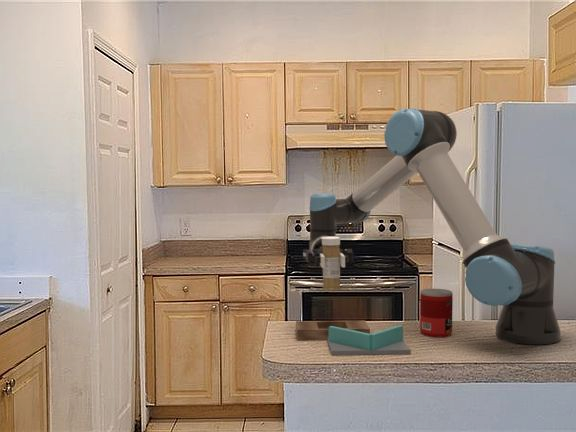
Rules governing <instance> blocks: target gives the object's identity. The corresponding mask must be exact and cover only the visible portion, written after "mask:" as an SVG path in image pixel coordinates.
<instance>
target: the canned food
mask: <svg viewBox="0 0 576 432" xmlns="http://www.w3.org/2000/svg"><path fill="white" fill-rule="evenodd" d="M453 295H454V294H453V291H451V290H449V289H446V288H445V289H443V288H424V289H421V290H420V300H419V301H420V305H419V306H420V309H419V312H420V314H419V315H420V316H419V317H420V318H419V319H420V320H419V321H420V325H419V326H420V327H419V330H420V333H421V334H422V335H423V336H426V337H429V338H430V337H431V338H447V337H450V336H451V335H452V333H453V308H454V307H453V305H454V304H453V300H454V297H453Z"/></svg>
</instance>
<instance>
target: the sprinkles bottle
mask: <svg viewBox="0 0 576 432" xmlns="http://www.w3.org/2000/svg"><path fill="white" fill-rule="evenodd" d="M322 246H323V255H324V256H325V268H322V281H323V282H322V290H324V291H326V292H337V291H340V290H342V289H341V265H340V251H339V247H340V246H341V237H339V236H336V237H323V238H322ZM340 248H341V247H340Z"/></svg>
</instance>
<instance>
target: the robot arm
mask: <svg viewBox="0 0 576 432" xmlns="http://www.w3.org/2000/svg"><path fill="white" fill-rule="evenodd" d="M457 135H458V134H457V128H456V124H455V122H454V120H453V119H452V118H451V117H450V116H449V115H447V114H446V113H445V112H442V111H437V110H427V109H419V108H418V109H417V108H413V107H412V108H404V109H399V110H398V111H396V112H394V113H393V114H391V116H390V117H389V119H388V120H387V123H386V125H385V131H384V135H383V136H384V138H383V139H384V143H385V146H386V148H387V149H388V151H389V152H390V153H391V154H394V155H395V156H393V158H391V160H389V161H388V162H387V163H386V164H385V165H383V166H382V167H381V168H380V169H379V170H378V171H377V172H376V173H374V174H373V175H371V176H370V178H368V179H367V180H366V181H364V183H363V184H362V185H360V186H359V187H358V188H356V189H355V190H354V192H353V193H350V195H348V196H347V197H345V198H337V197H336V194H334V193H327V192H326V193H324V192H323V193H322V192H321V193H312V194H311V195H310V197H309V228H310V229H309V230H310V231H309V243H308V244H309V246H308V247H309V249H307V248H304V249H302V258H303V260H305V261H306V262H307V264H313V263H314V266H315V267H321V269H323V268H325V256H324V255H323V246H322V238H323V237H337V235H336V234H337V233H336V231H337V226H336V225H344V224H358V223H361V222H365V221H367V220H368V219H369V217H370V215H371V212H372V210H374V208H375V207H377V206H378V205H379V204H380V203H382V202H383V201H384V200H385V199H387V198H388V197H389V196H390V195H392V194H393V193H394V192H395V191H396V190H398V189H399V188H400V187H401V186H403V185H404V184H405V183H406V182H408V181H409V180H410V179H412V178H413V177H414V176H415V175H416V174H418V175H419V177H420V179H421V180H422V182H423V183H424V185H425V186H426V188H427V190H428V192H429V194H430V195H431V197H432V199H433V201H434V202H435V204H436V206H437V207H438V209H439V211H440V213H441V215H442V216H443V218H444V220H445V221H446V223H447V225H448V226H449V228H450V230H451V232H452V233H453V235H454V236H455V239H456V240H457V242H458V244H459V245H460V247H461V250H462V251H463V252H464V253H463V254H464V255H463V258H462V264H463V265H464V267H465V272H464V273H465V277H464V280H465V281H464V283H465V287H467V288H466V289H467V290H468V292H469V293H470V295H471V296H472V297H473V298H474V299H475V300H476V301H478V302H480V303H482V304H484V305H487V306H492V307H495V306H496V307H497V306H498V307H499V306H502V308H501V310H500V313H499V316H498V319H497V321H496V326H495V337H497V338H498V339H500V340H503V341H506V342H510V343H517V344H523V345H550V344H552V345H553V344H555V343H558V342H560V341H561V329H560V326H559V322H558V319H557V315H556V312H555V309H554V291H555V290H554V289H555V287H554V286H555V264H556V260H555V252H554V250H553V249H552V248H551V247H549V246H537V245H529V244H518V243H517V244H513V243H510V241H509V240H508V238H507V237H504V236H502V235H501V236H500V235H498V234H497V233H496V231H495V230H494V228H493V226H492V225H491V223H490V221H489V220H488V217H487V216H486V214H485V213H484V211H483V209H482V207H480V205H479V203H478V201H477V200H476V198H475V196H474V195H473V193H472V191H471V190H470V187H468V184H467V183H466V182H465V180H464V178H463V177H462V175H461V173H460V171H459V170H458V168H457V167H456V165H455V164H454V162H453V160H452V159H451V157H450V155H449V152H450V151H451V150H452V148H453V147H454V145H455V144H456V140H457ZM339 251H340V268H346V264H347V263H349V264H352V263H354V252H353V249H352V248H346V249H344V250H343V249H342V248H341V247H339Z"/></svg>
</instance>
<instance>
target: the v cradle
mask: <svg viewBox="0 0 576 432" xmlns="http://www.w3.org/2000/svg"><path fill="white" fill-rule="evenodd" d="M326 341H327V344H328V348H329V351H330V354H331V356H380V355H381V356H384V355H385V356H386V355H388V356H390V355H411V354H412V350H411V348H410V347H409V346H408V344H407V343H406V342H405V340H404V325H400V324H398V325H394V326H391V327H388V328H385V329H381V330H378V331H375V332H372V333H371V332H370V334H369V333H364V332H359V331H354V330H349V329H344V328H340V327H335V326H329V338H327V340H326Z"/></svg>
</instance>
